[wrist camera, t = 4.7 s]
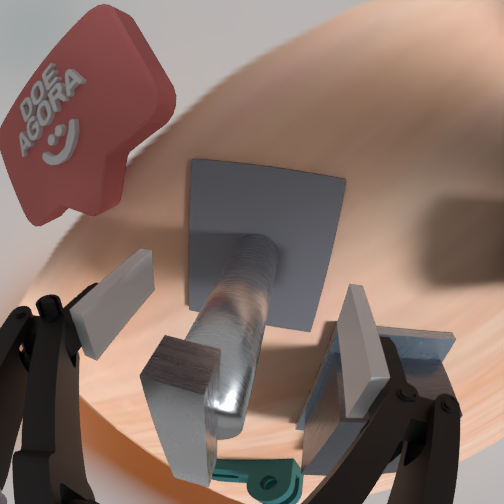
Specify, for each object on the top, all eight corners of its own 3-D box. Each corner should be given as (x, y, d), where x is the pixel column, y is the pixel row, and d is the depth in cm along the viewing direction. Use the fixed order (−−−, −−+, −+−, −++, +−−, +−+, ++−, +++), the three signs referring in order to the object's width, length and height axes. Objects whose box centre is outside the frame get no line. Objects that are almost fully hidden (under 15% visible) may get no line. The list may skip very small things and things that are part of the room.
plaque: (43, 262, 20) (-9, 136, 16) (68, 246, 24) (17, 131, 19) (187, 145, 14) (101, -8, 10) (208, 143, 18) (128, 6, 14)
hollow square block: (336, 321, 21) (345, 400, 14) (452, 332, 20) (483, 395, 13) (285, 444, 31) (278, 494, 23) (366, 448, 29) (369, 495, 22)
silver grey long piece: (240, 202, 18) (108, 363, 5) (286, 208, 18) (244, 404, 5) (232, 292, 21) (155, 471, 8) (271, 300, 21) (228, 491, 8)
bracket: (293, 457, 33) (288, 501, 26) (303, 471, 35) (299, 509, 28) (192, 456, 38) (180, 491, 31) (210, 470, 40) (200, 503, 33)
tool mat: (195, 158, 18) (191, 159, 17) (344, 178, 17) (346, 180, 16) (191, 305, 23) (189, 309, 22) (310, 327, 22) (310, 332, 21)
